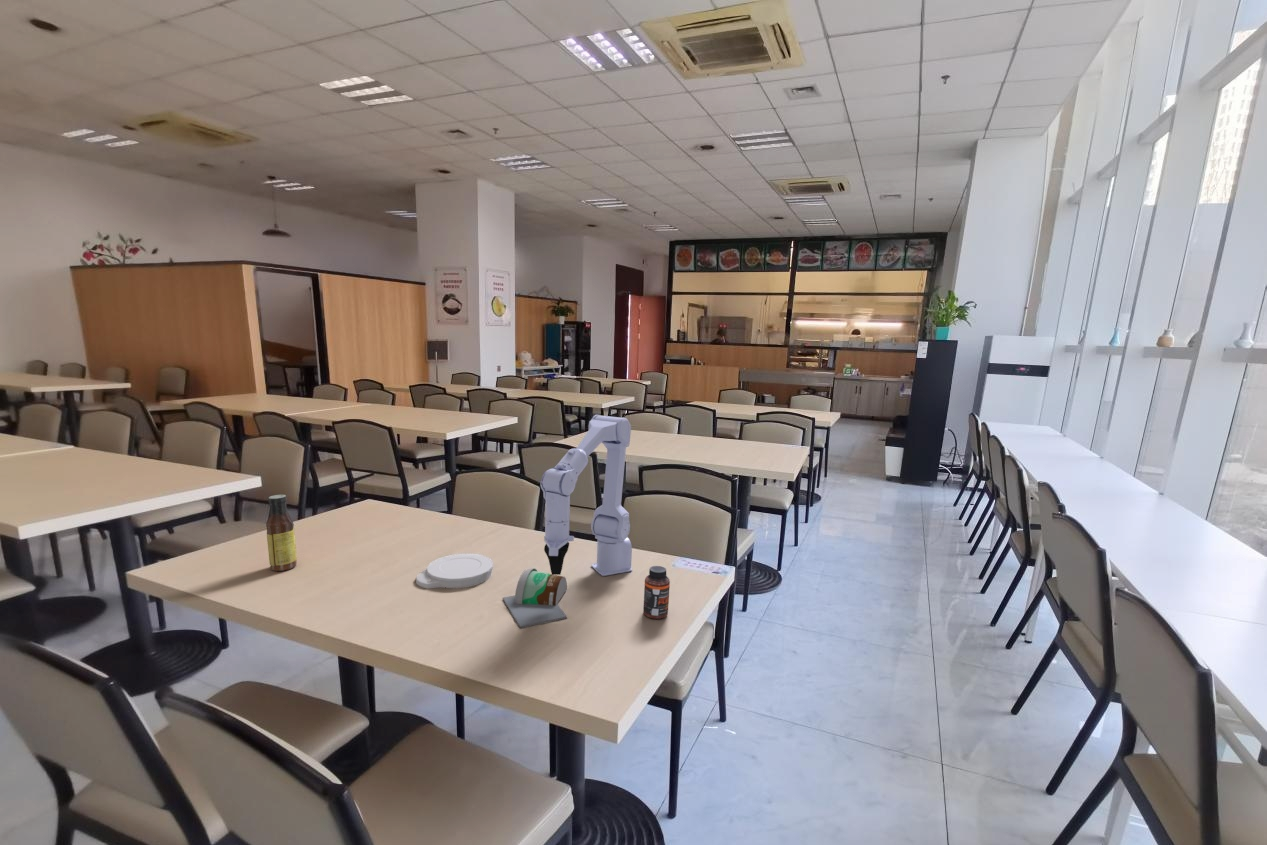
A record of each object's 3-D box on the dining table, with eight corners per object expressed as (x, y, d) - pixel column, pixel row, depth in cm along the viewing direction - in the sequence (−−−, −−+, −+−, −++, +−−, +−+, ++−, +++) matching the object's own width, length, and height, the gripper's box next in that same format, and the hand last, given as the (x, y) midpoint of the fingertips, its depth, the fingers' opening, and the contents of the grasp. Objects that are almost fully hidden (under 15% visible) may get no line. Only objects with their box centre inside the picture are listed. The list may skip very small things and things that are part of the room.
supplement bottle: (660, 622, 126) (662, 576, 125) (638, 615, 129) (640, 569, 128) (672, 612, 131) (674, 567, 130) (651, 605, 134) (653, 561, 133)
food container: (554, 583, 129) (513, 579, 131) (553, 608, 130) (513, 603, 132) (569, 564, 141) (532, 560, 143) (568, 586, 142) (531, 582, 144)
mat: (545, 591, 140) (545, 589, 140) (566, 618, 127) (566, 616, 127) (502, 599, 135) (502, 597, 135) (520, 628, 122) (520, 625, 121)
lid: (408, 573, 148) (408, 562, 148) (480, 558, 160) (480, 549, 159) (425, 598, 134) (425, 586, 134) (503, 580, 146) (503, 570, 145)
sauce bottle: (302, 563, 151) (299, 493, 148) (286, 573, 145) (282, 500, 142) (280, 562, 151) (276, 492, 149) (262, 571, 145) (258, 498, 142)
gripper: (571, 529, 123) (570, 586, 125) (576, 510, 138) (575, 562, 139) (540, 528, 123) (539, 586, 125) (548, 509, 137) (547, 561, 139)
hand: (556, 573), depth 132 cm, fingers closed
